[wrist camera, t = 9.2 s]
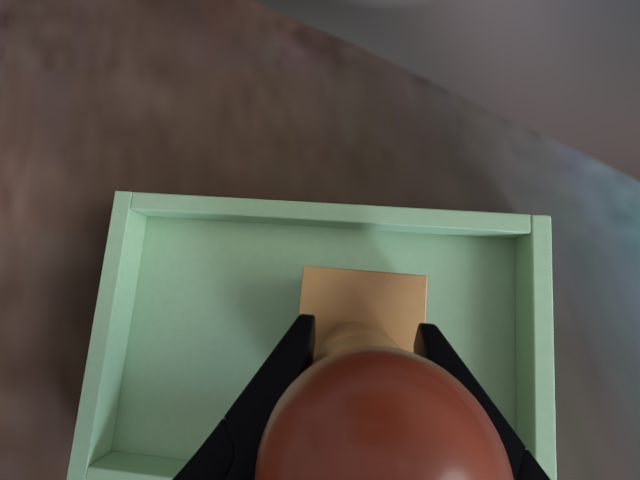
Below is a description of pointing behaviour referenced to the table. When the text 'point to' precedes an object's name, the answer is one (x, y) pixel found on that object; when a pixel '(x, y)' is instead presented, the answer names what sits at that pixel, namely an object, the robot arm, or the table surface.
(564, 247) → the table surface
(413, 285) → the wooden rubber stamp
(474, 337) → the tray
